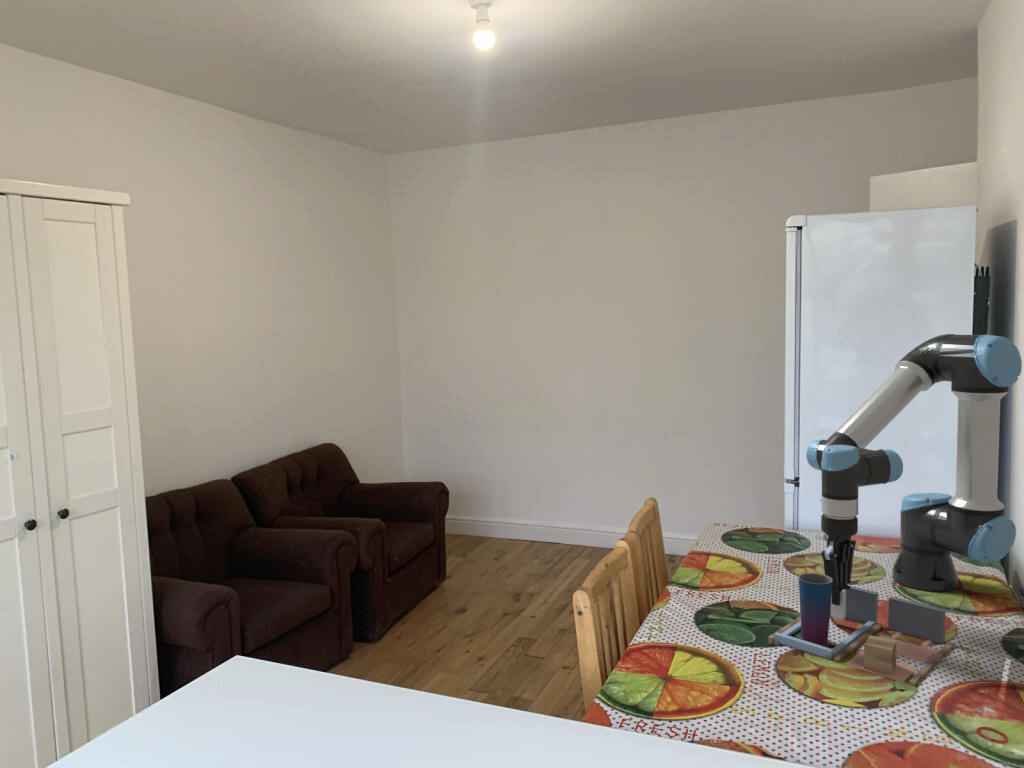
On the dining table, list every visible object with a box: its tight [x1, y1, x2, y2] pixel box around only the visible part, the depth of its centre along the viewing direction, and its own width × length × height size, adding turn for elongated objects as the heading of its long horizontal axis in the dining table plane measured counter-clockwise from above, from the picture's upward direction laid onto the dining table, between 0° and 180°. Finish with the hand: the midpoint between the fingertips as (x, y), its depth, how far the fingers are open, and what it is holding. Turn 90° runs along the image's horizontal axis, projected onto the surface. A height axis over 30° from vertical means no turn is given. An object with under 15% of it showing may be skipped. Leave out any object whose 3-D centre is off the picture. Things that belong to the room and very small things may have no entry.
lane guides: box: [767, 615, 955, 687], centre depth 163 cm, size 23×30×2 cm
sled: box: [773, 584, 879, 661], centre depth 168 cm, size 24×12×8 cm, turn 134°
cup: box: [798, 572, 833, 647], centre depth 164 cm, size 7×7×15 cm
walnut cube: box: [863, 635, 898, 675], centre depth 152 cm, size 5×5×5 cm
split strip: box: [844, 596, 947, 683], centre depth 158 cm, size 24×11×8 cm, turn 134°
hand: (838, 617), depth 172 cm, fingers closed
